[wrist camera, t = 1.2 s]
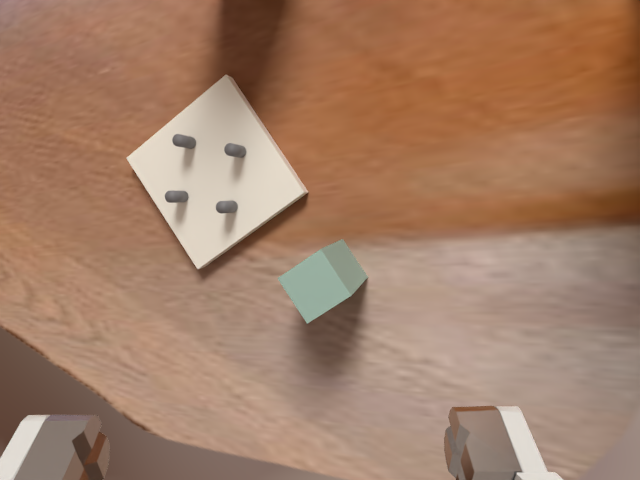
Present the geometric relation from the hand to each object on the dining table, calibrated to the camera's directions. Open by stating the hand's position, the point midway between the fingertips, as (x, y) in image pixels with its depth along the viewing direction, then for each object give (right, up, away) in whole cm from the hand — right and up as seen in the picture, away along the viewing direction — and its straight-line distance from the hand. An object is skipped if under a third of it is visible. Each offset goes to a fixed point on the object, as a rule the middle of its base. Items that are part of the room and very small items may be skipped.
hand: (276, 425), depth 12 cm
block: (+3, +1, +38) cm, 38 cm away
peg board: (-10, +11, +40) cm, 42 cm away
